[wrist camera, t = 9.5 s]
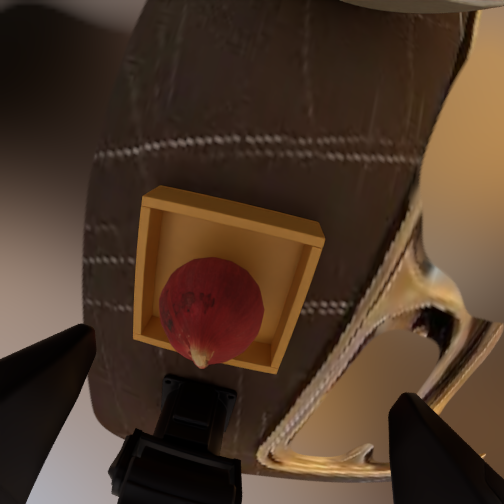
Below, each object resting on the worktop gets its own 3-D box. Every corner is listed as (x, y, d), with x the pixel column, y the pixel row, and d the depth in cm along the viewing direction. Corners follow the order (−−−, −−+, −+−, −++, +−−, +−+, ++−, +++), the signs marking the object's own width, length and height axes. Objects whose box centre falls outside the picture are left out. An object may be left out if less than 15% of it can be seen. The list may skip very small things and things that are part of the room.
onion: (165, 288, 22) (120, 364, 14) (203, 220, 19) (161, 281, 12) (237, 328, 22) (221, 415, 15) (282, 267, 20) (285, 349, 13)
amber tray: (276, 347, 24) (276, 374, 21) (146, 315, 23) (132, 339, 20) (318, 221, 20) (325, 238, 17) (160, 184, 19) (142, 195, 16)
